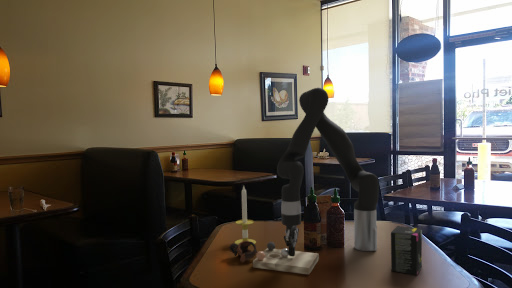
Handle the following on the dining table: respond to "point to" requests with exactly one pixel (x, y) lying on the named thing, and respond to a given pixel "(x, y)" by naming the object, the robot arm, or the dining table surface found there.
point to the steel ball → (285, 252)
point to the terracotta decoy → (260, 255)
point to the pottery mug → (243, 250)
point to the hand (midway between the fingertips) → (292, 255)
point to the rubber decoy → (271, 246)
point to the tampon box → (406, 250)
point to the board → (287, 261)
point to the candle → (244, 220)
